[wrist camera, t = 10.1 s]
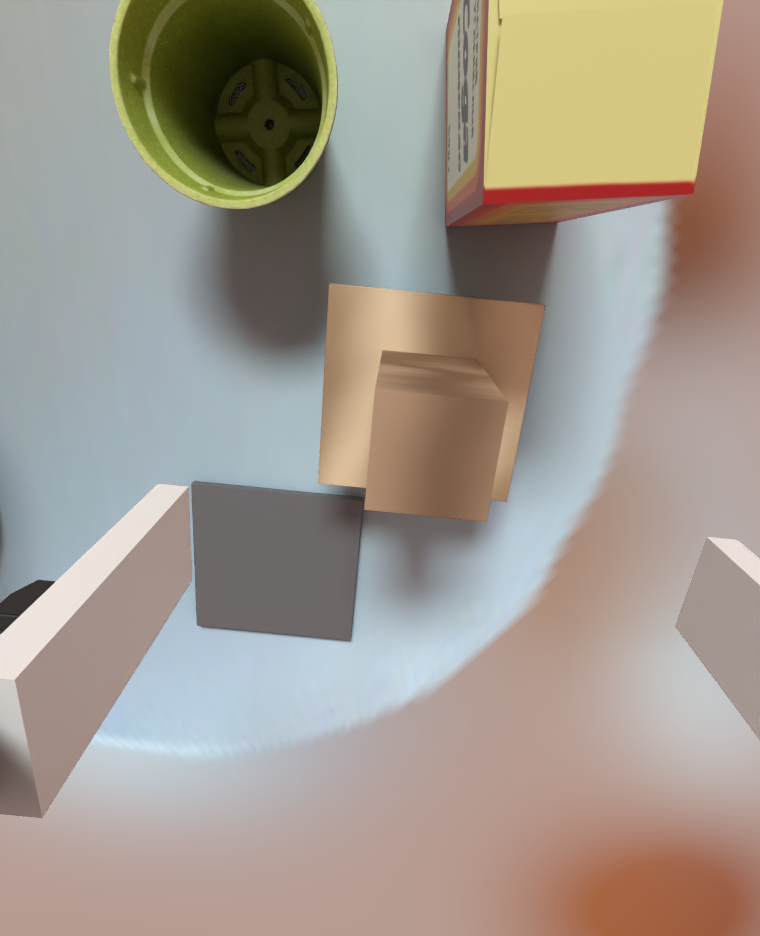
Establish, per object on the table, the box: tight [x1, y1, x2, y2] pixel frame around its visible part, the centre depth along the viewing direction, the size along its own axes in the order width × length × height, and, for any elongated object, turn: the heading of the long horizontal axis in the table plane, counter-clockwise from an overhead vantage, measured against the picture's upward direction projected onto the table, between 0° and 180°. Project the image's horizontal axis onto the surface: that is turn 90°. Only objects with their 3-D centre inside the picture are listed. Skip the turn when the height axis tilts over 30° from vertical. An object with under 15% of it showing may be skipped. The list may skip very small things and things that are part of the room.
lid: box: [318, 283, 545, 522], centre depth 26 cm, size 11×11×10 cm
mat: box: [191, 481, 363, 640], centre depth 40 cm, size 12×12×1 cm
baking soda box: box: [445, 0, 723, 227], centre depth 22 cm, size 10×6×16 cm
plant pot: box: [109, 0, 338, 209], centre depth 26 cm, size 9×9×9 cm
